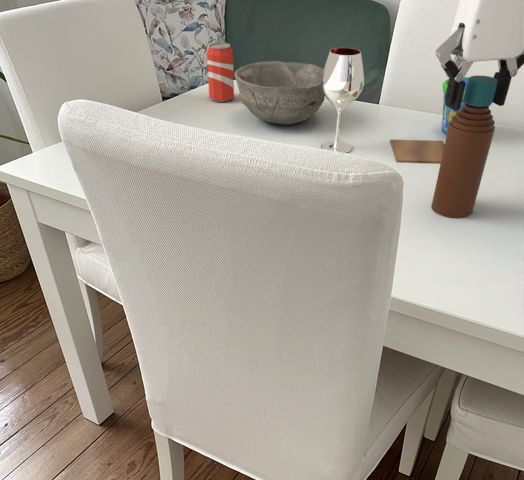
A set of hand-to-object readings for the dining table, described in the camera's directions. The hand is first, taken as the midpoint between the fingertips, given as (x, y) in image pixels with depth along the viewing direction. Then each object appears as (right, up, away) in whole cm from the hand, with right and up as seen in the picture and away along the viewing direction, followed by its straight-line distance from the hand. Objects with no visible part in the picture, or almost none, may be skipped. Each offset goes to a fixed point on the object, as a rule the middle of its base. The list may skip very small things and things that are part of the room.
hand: (474, 104), depth 86 cm
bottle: (0, -13, +11) cm, 17 cm away
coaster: (0, +3, +30) cm, 30 cm away
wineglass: (-17, +5, +32) cm, 36 cm away
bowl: (-28, +15, +44) cm, 54 cm away
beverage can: (-42, +25, +55) cm, 74 cm away
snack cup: (+11, +10, +38) cm, 41 cm away
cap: (0, 0, 0) cm, 1 cm away
